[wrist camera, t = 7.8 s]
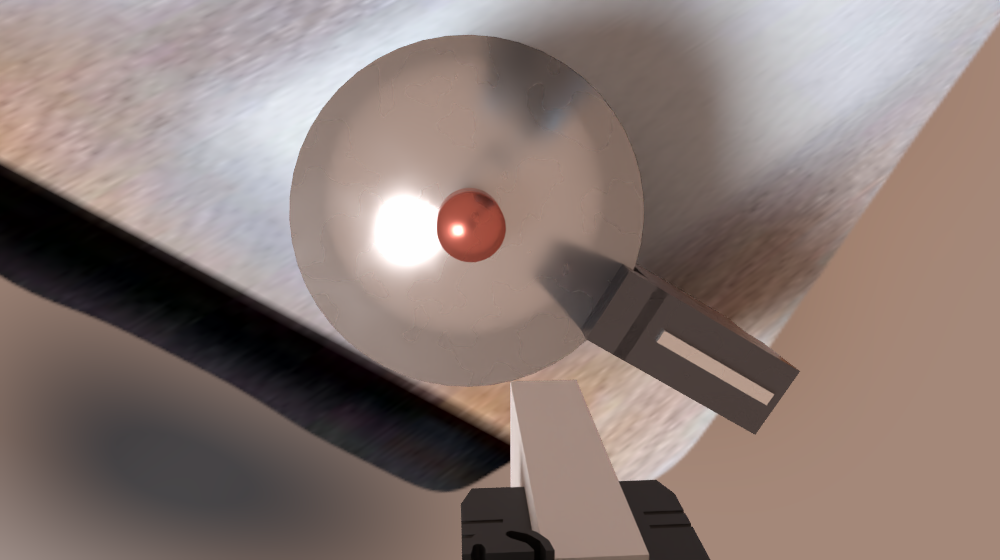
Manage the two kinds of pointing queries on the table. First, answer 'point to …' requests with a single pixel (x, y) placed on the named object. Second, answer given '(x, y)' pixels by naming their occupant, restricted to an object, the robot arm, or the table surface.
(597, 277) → the lid
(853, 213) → the table surface
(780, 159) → the table surface
